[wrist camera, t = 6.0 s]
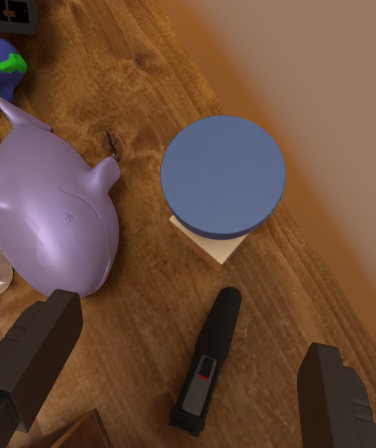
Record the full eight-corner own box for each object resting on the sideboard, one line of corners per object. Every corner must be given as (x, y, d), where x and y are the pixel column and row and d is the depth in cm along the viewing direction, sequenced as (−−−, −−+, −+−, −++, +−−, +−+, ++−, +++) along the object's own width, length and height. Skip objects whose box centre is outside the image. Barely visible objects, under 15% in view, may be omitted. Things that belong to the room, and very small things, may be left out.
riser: (249, 235, 38) (266, 211, 27) (217, 272, 38) (221, 264, 26) (212, 205, 39) (213, 168, 28) (180, 240, 39) (168, 219, 27)
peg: (274, 211, 27) (312, 164, 17) (222, 272, 26) (230, 261, 16) (212, 162, 28) (214, 92, 18) (161, 219, 27) (134, 179, 17)
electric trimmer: (249, 294, 37) (252, 294, 34) (199, 437, 35) (198, 451, 31) (217, 282, 38) (218, 281, 35) (166, 421, 35) (161, 434, 32)
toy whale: (90, 323, 38) (-64, 349, 24) (29, 158, 47) (-109, 107, 33) (181, 261, 34) (61, 249, 20) (95, 94, 43) (-29, 5, 29)
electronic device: (-39, 30, 36) (-53, -27, 33) (-21, 17, 44) (-31, -31, 41) (36, 37, 38) (29, -16, 35) (40, 23, 46) (35, -21, 43)
